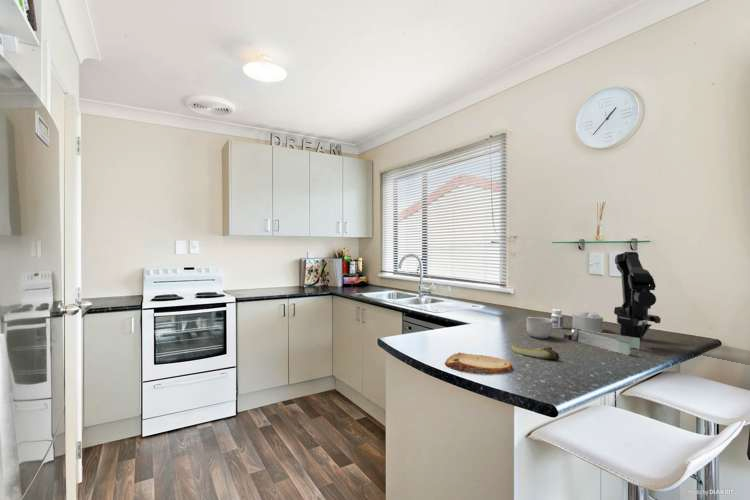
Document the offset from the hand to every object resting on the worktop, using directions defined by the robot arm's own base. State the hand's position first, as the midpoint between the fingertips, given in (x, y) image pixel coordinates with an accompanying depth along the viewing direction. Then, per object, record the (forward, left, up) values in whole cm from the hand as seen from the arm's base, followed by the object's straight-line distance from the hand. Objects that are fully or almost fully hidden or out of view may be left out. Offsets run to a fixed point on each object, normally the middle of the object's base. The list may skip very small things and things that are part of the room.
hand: (638, 340), depth 145 cm
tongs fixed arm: (+17, -7, -2) cm, 18 cm away
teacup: (+27, -27, -3) cm, 38 cm away
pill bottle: (+3, -37, -3) cm, 37 cm away
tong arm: (+9, -6, -2) cm, 11 cm away
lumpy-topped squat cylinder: (-8, -28, -3) cm, 29 cm away
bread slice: (+79, -2, -3) cm, 79 cm away
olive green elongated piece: (+50, -8, -3) cm, 50 cm away
